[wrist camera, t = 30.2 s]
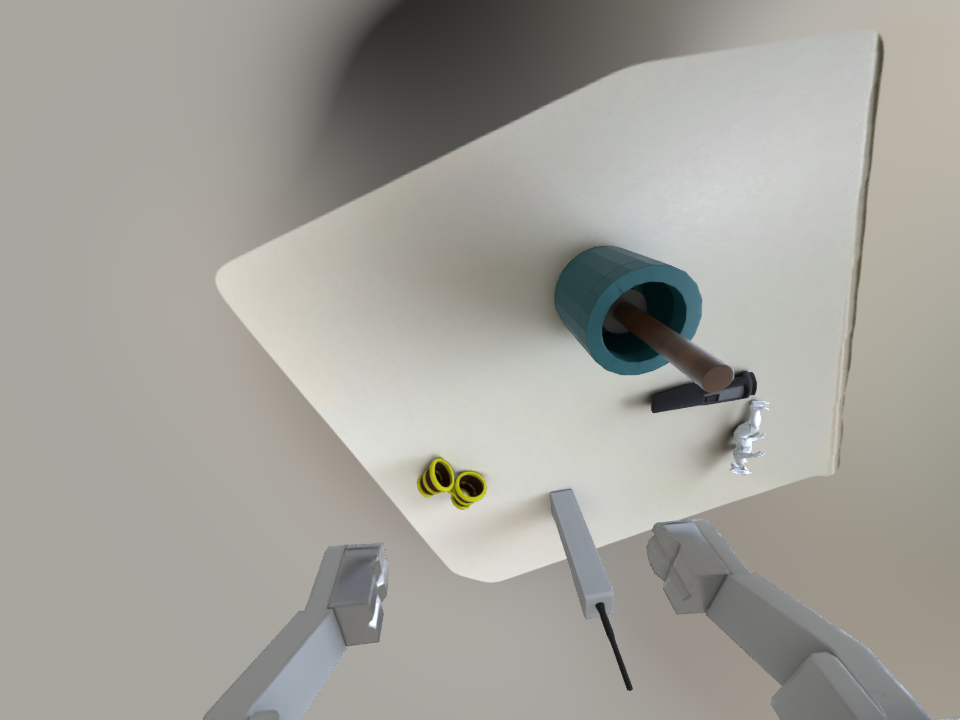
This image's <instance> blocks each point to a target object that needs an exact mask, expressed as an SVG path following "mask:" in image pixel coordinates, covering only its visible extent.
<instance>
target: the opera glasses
mask: <svg viewBox="0 0 960 720" xmlns="http://www.w3.org/2000/svg"><path fill="white" fill-rule="evenodd" d="M417 487H418V490H419V492H420V493H421V494H422V495H423V496H425V497H431V496H433V495H434V494H438V493H441V492H448V493H450V494H452V495H451V500H452V503H453V504H454V506H455V507H457V508H458V509H461V510H464V509H467V508H469V507H470V505H471V504H473V503H475V502H476V501H479V500H481V499H482V498H483V497H484V495H485V494H486V490H487V486H486V482H485V480H484V479H483V477H482V476H480V475H479V474H477V473H475V472H471V471H466V472H463V473H461V474H460V475H459V476H458V477H457V479H456V481H455V484H454V474H453V471H452V469H451V467H450V466H449V464H448V463H447V462H446V461H445V460H443V459H440V458H437V459H434V460H433V461H432V463H431V465H430V467H429V468H428V469H427V470H426V471H425V472H424V474H423V475H421V476H420V477H419V478H418V481H417ZM462 491H464V492H465V493H467V495H468V496H467V495H465V494H464V493H463V492H462Z"/></svg>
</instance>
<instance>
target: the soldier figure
mask: <svg viewBox="0 0 960 720" xmlns="http://www.w3.org/2000/svg"><path fill="white" fill-rule="evenodd" d="M751 405H752V406H750V410H751V414H750V420H749V421H747V422H745V423H744V424H741V425H739V426H738V427H737V429H735V431H734V432H733V434H734V440H735V444H736V445H735V447H736V448H734V450H733V452H734V453H733V455H734V458H735V461H736V462H737V463H738V464H737V463H734V462H733V463H731V466H732V469H731V470H730V471H732V472H733V473H736V474H744V475H746V474H750V473H751V472H750V471H748V470H747V469H746V467H743V466H741V465H739V464H744V463H747V460H748V458H752V457H758V456H762V455H764V454H765V453H763V452H762V453H761V452H760V451H759V452H758V453H755V454H752V453H750V452H751V447H752V443H751V442H753V441H756V440H758V439H760V438H763V437H764V436H765V433H763V434H762V435H759V432H758V434H757V436H756V437H750V435H751V434H752V433H754V432H756V431H757V430H758V429H759V424H760V423H761V417H760V413H759V411H761V410H768V409H769V408H767V407H765V406H762V405H769V403H768V402H765V401H751ZM760 453H761V454H760Z"/></svg>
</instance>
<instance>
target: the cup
mask: <svg viewBox="0 0 960 720" xmlns="http://www.w3.org/2000/svg"><path fill="white" fill-rule="evenodd" d="M631 288H634V289H636V290H638V291H640V292H641V293H642V294H643V295H644V297H645V299H646V302H647V311H646V313H647V314H649V315H650V316H652V317H653V318H655V319H656V320H658V321H660V322H661V323H663V324H664V325H666V326H667V327H669V328H671V329H672V330H674V331H675V332H677V333H679V334H680V335H682V336H683V337H685V338H686V339H688V340H690V341H691V339H692V338H693V336H694V335H695V333H696V330H697V328H698V325H699V322H700V319H701V316H702V298H701V295H700V292H699V289H698V286H697V284H696V283H695V282H694V280H693V279H692V278H691V277H690V276H689V275H688V274H687V273H686V272H685V271H682V270H680V269H678V268H676V267H673V266H671V265H668V264H665V263H662V262H660V261H657V260H654V259H651V258H648V257H645V256H642V255H639V254H637V253H634V252H631V251H628V250H625V249H622V248H619V247H614V246H599V247H595V248H592V249H589V250H587V251H585V252H583V253H581V254H580V255H578V256H577V257H575V258H574V259H573V260H572V261H571V262H570V263H569V264H568V265H567V266H566V268H565V269H564V270H563V272H562V274H561V275H560V277H559V280H558V282H557V285H556V289H555V307H556V310H557V313H558V315H559V317H560V319H561V320H562V321H563V323H564V325H565V326H566V327H567V328H568V329H569V330H570V332H571V333H572V334H573V335H574V336H575V338H576V339H577V340H578V341H579V342H580V344H581V345H582V346H583V347H584V348H585V349H586V351H587V352H588V353H589V354H590V355H591V357H592V358H593V359H594V360H595V361H596V362H597V363H598V364H599V365H601V366H602V367H603V368H604V369H606V370H607V371H610V372H613V373H617V374H620V375H639V374H643V373H647V372H650V371H654V370H656V369H658V368H660V367H662V366H663V365H665V364H667V363H669V362H668V361H667V360H666V359H665V358H663V357H662V356H661V355H660V354H658V353H657V352H656V351H654V350H653V349H652V348H651V347H649V346H648V345H647V344H646V343H644V342H643V341H642V340H641V339H639V338H638V337H637V336H636V335H634V334H633V333H632V332H631V331H629V332H626V333H622V334H615V333H611V332H609V331H607V330H606V329H605V328H604V327H603V321H604V317H605V315H606V313H607V312H608V310H609V308H610V306H611V305H612V304H613V303H614V301H615V300H616V299H617V298H618V297H619V296H620V295H621V294H622V293H624V292H626V291H627V290H629V289H631Z"/></svg>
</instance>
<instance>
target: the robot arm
mask: <svg viewBox="0 0 960 720" xmlns="http://www.w3.org/2000/svg"><path fill="white" fill-rule="evenodd" d="M652 531H653V533H654V536H653V537H652V538H650V539H649V540H648V544H647V547H646V548H647V555H648V559H649V562H650V565H651V567H652V569H653V571H654V573H655V574H656V575H657V576H658V577H660V578H661V579H662V580H663V581H664V587H663V590H664V592H665V594H666V595H667V597H668V599H669V601H670V603H671V605H672V607H673V608H674V610H675V612H676V614H693V613H706V615H707V616H708V617H709V618H710V619H711V620H712V621H713V622H714V623H715V624H716V625H717V626H718V627H719V628H721V629H722V630H723V631H724V632H725V633H726V634H727V635H728V636H729V637H730V638H731V639H732V640H733V641H734V642H736V644H738V645H739V646H740V647H741V648H742V649H743V650H744V651H745V652H746V653H747V654H748V655H749V656H750V657H752V658H753V659H754V660H755V661H756V662H757V663H758V664H759V665H760V666H761V667H762V668H763V669H764V670H765V671H766V672H767V673H769V674H770V675H771V676H772V677H773V678H774V679H775V680H776V681H777V682H778V683H779V684H780V685H782V687H781V688H780V689H779V690H778V691H777V692H776V694H775V695H774V696H773V697H772V701H771V705H772V707H773V708H774V710H775V711H776V713H777V715H778V717H779V718H780V720H933V719H932V718H931V717H930V716H929V715H928V713H927V712H926V711H925V710H924V709H923V708H922V707H921V706H920V705H919V703H918V702H917V701H916V700H915V699H914V698H913V697H912V696H911V695H910V694H909V693H908V692H907V690H906V689H905V688H904V687H903V686H902V685H901V684H900V683H899V681H898V680H897V679H896V678H895V677H894V676H893V675H892V674H891V673H890V672H889V670H888V669H887V668H886V667H885V666H884V665H883V664H882V663H881V662H880V661H879V660H878V658H877V657H876V656H875V655H874V654H873V653H872V652H871V651H870V650H869V648H868V647H867V646H865V645H864V644H862V643H861V642H859V641H857V640H856V639H855V638H853V637H852V636H850V635H849V634H847V633H846V632H844V631H843V630H841V629H840V628H838V627H837V626H835V625H834V624H832V623H831V622H829V621H827V620H826V619H824V618H823V617H821V616H820V615H819V614H817V613H815V612H814V611H813V610H811V609H809V608H808V607H806V606H805V605H803V604H802V603H800V602H799V601H797V600H796V599H794V598H793V597H791V596H790V595H788V594H787V593H785V592H784V591H782V590H781V589H779V588H778V587H776V586H775V585H773V584H772V583H770V582H769V581H767V580H766V579H764V578H763V577H761V576H760V575H758V574H757V573H750V572H749V570H748V569H747V568H746V567H745V565H744V564H743V563H742V562H741V560H740V559H739V558H738V556H737V555H736V554H735V553H734V551H733V550H732V549H731V548H730V546H729V545H728V544H727V543H726V541H725V540H724V539H723V537H722V536H721V535H720V534H719V532H718V531H717V530H716V529H715V527H714V526H713V525H712V524H711V523H710V522H709V521H708V520H706V519H697V520H680V521H669V522H658V523H656V524H654V526H653V529H652ZM384 555H385V546H384V543H372V544H355V545H337V546H329V547H328V548H327V550H326V551H325V553H324V556H323V559H322V562H321V565H320V568H319V571H318V574H317V576H316V579H315V582H314V585H313V588H312V591H311V594H310V597H309V600H308V603H307V605H306V608H305V611H299V612H298V613H297V614H296V615H295V616H294V617H293V618H292V619H291V621H290V622H289V623H288V624H287V625H286V626H285V627H284V628H283V629H282V630H281V632H280V633H279V634H278V635H277V636H276V637H275V638H274V639H273V640H272V641H271V643H270V644H269V645H268V646H267V647H266V648H265V649H264V650H263V651H262V652H261V654H260V655H259V656H258V657H257V658H256V659H255V660H254V661H253V662H252V664H251V665H250V666H249V667H248V668H247V669H246V670H245V671H244V672H243V673H242V674H241V676H240V677H239V678H238V679H237V680H236V681H235V682H234V683H233V684H232V686H231V687H230V688H229V689H228V690H227V691H226V692H225V693H224V694H223V695H222V696H221V698H220V699H219V700H218V701H217V702H216V703H215V704H214V705H213V706H212V707H211V709H210V710H209V711H208V712H207V713H206V714H205V716H204V718H203V720H301V718H302V717H303V715H304V714H305V712H306V711H307V709H308V707H309V706H310V704H311V703H312V701H313V700H314V698H315V697H316V695H317V694H318V692H319V690H320V689H321V687H322V686H323V684H324V683H325V681H326V680H327V678H328V676H329V675H330V673H331V672H332V670H333V669H334V667H335V666H336V664H337V663H338V661H339V660H340V658H341V656H342V655H343V653H344V652H345V650H346V649H347V648H346V646H352V645H360V644H368V643H376V642H379V639H380V633H381V627H382V621H383V615H384V614H383V609H382V604H381V602H382V601H383V600H384V598H385V597H386V595H387V588H388V577H389V569H388V561H387V559H385V558H384ZM939 720H960V717H956V718H947V719H939Z"/></svg>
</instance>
